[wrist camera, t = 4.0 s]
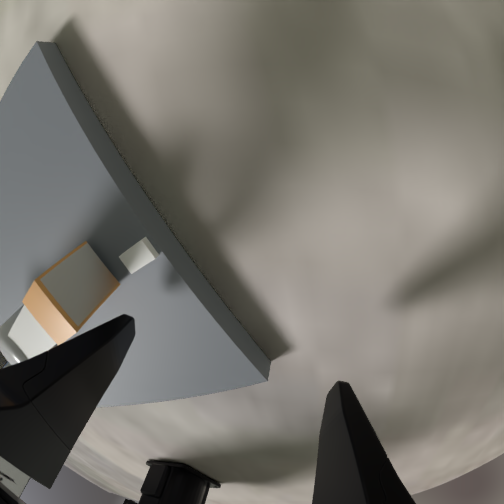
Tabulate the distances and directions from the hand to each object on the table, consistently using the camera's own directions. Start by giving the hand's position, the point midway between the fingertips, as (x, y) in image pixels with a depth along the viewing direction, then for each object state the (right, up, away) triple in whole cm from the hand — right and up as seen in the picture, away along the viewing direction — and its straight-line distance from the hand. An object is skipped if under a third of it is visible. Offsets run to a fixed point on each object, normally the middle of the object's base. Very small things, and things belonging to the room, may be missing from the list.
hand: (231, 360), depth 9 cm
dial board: (-12, +1, +5) cm, 13 cm away
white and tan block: (-9, +1, +3) cm, 10 cm away
